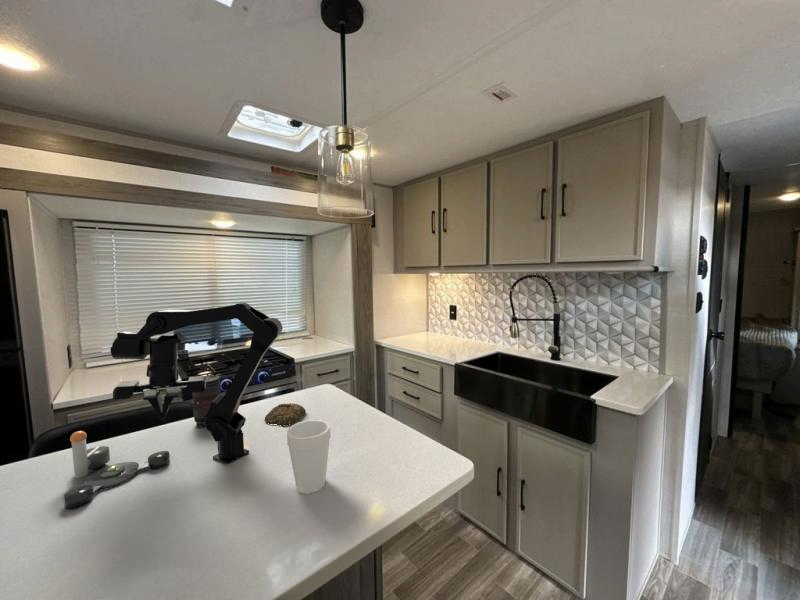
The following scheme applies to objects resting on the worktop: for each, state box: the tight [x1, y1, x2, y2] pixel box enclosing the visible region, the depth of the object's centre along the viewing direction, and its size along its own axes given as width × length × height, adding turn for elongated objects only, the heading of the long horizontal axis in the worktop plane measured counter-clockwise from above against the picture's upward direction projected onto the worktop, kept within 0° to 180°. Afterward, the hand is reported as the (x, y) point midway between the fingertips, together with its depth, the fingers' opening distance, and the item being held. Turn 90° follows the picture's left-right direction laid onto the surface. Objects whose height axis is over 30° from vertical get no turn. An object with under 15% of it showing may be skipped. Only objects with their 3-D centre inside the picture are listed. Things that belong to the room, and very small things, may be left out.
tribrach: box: [63, 450, 171, 511], centre depth 80 cm, size 18×20×3 cm
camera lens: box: [191, 375, 222, 428], centre depth 108 cm, size 8×8×15 cm
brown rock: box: [264, 402, 306, 427], centre depth 111 cm, size 13×12×5 cm
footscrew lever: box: [69, 430, 111, 479], centre depth 81 cm, size 9×6×11 cm, turn 17°
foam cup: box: [286, 419, 331, 494], centre depth 74 cm, size 10×9×13 cm
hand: (162, 419), depth 84 cm, fingers closed
